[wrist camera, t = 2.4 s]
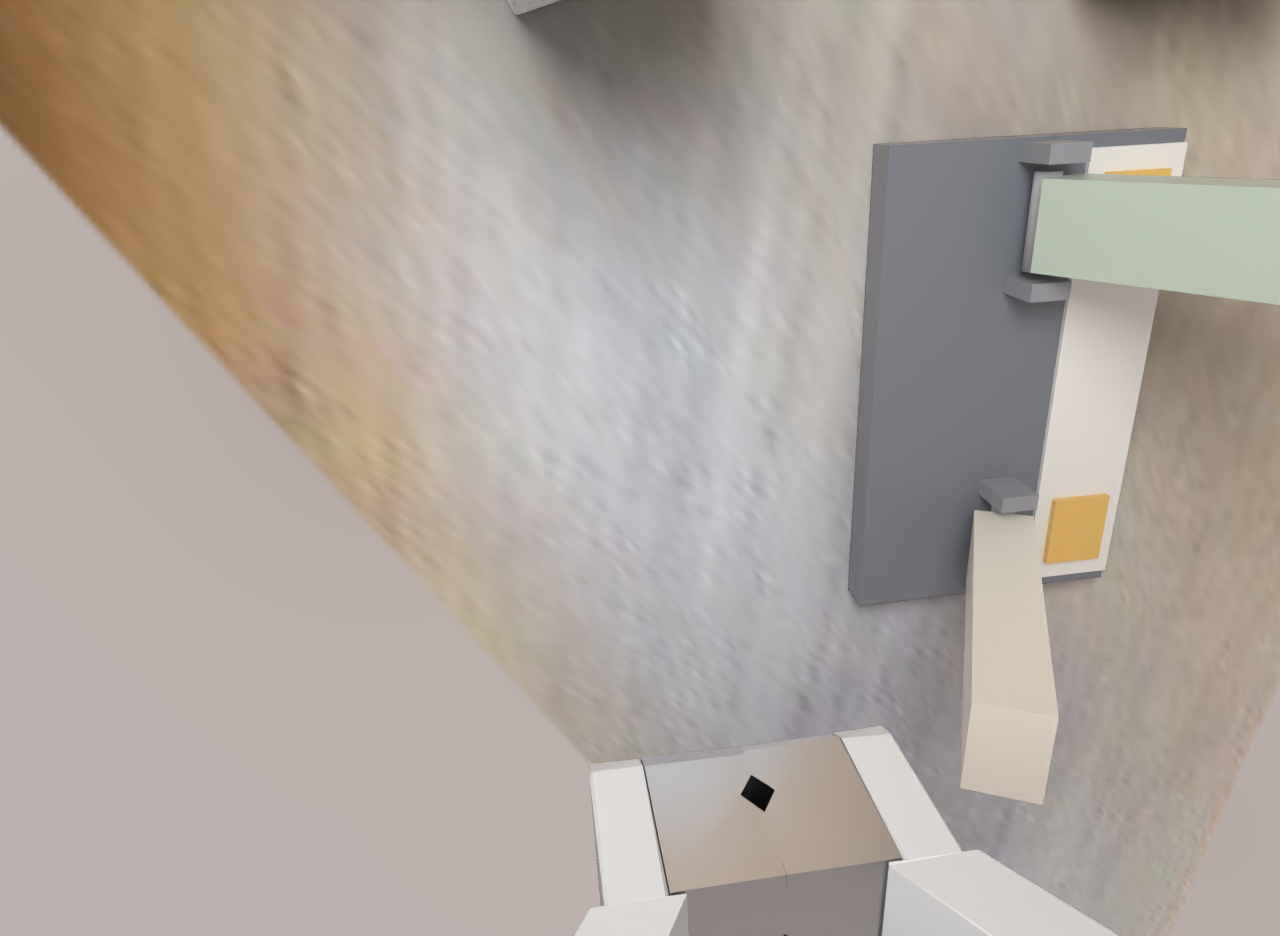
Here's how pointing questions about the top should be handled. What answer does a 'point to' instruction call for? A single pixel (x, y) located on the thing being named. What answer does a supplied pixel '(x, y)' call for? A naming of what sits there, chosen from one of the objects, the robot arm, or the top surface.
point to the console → (990, 363)
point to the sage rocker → (1158, 232)
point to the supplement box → (527, 5)
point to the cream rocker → (1006, 663)
